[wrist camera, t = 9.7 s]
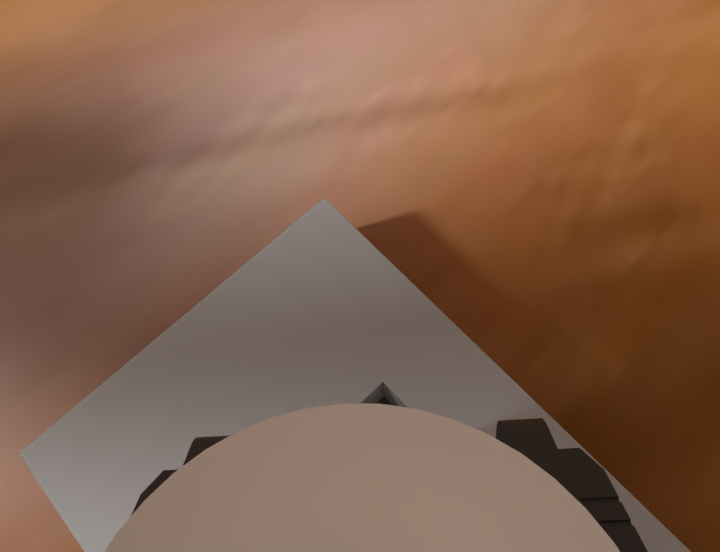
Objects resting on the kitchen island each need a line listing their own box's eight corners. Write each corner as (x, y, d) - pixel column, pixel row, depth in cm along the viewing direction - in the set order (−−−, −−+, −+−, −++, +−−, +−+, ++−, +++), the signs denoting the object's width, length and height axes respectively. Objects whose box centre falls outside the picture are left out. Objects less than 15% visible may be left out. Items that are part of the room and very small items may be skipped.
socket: (70, 458, 20) (18, 453, 17) (331, 234, 22) (323, 197, 20) (454, 1002, 15) (469, 1122, 12) (738, 635, 17) (806, 663, 14)
